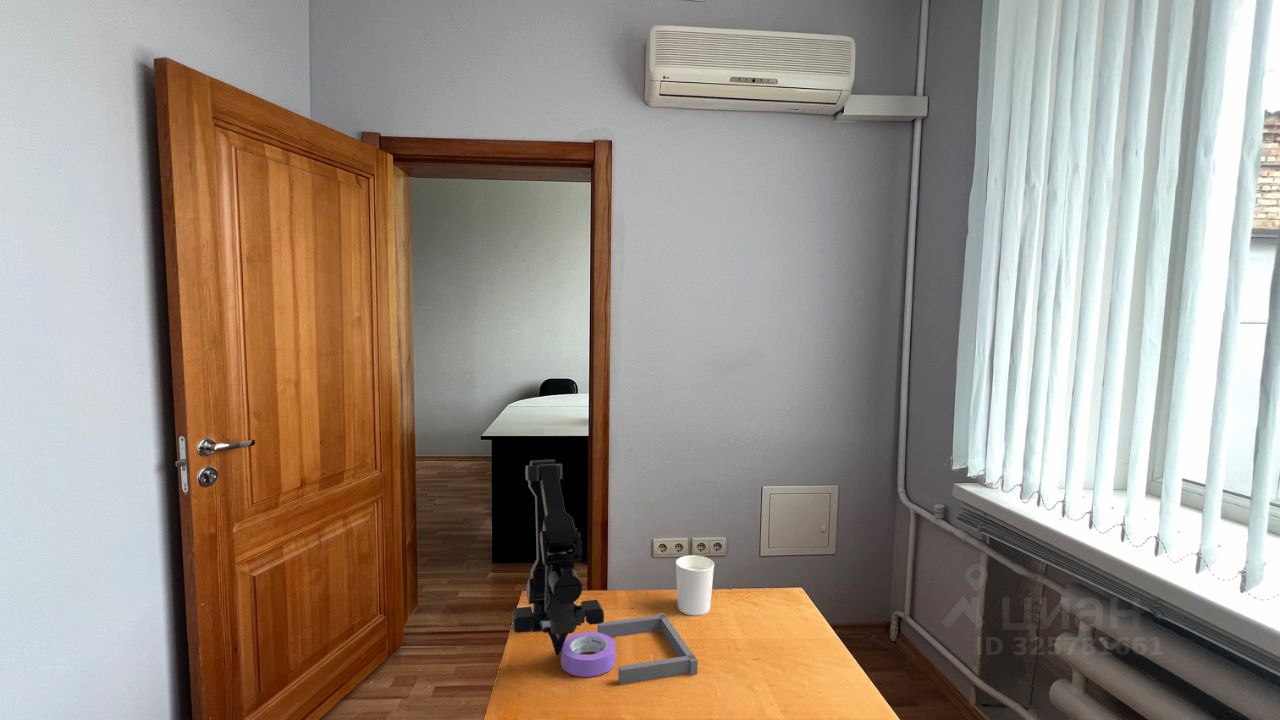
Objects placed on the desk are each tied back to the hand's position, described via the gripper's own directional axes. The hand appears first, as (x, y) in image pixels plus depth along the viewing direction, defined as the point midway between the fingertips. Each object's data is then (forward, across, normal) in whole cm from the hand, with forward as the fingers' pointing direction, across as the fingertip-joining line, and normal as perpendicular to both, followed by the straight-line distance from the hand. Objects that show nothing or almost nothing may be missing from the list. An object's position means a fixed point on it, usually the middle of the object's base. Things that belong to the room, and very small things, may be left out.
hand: (557, 654), depth 131 cm
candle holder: (+2, +38, +18) cm, 42 cm away
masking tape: (+3, +7, 0) cm, 7 cm away
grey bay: (+2, +19, 0) cm, 20 cm away
